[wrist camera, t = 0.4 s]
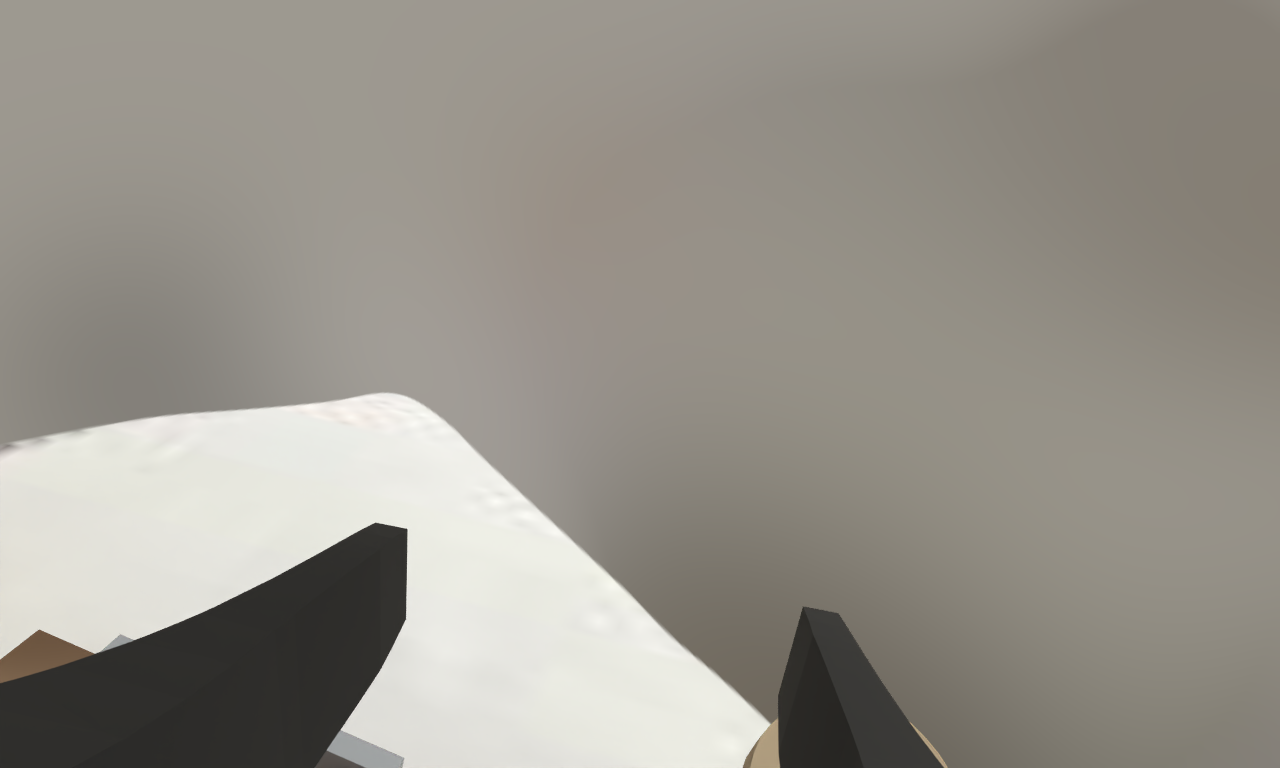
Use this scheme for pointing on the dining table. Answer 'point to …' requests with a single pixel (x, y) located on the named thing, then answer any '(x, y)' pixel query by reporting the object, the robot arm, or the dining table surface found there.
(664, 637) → the dining table surface
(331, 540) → the dining table surface
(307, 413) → the dining table surface
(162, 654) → the robot arm
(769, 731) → the handle
